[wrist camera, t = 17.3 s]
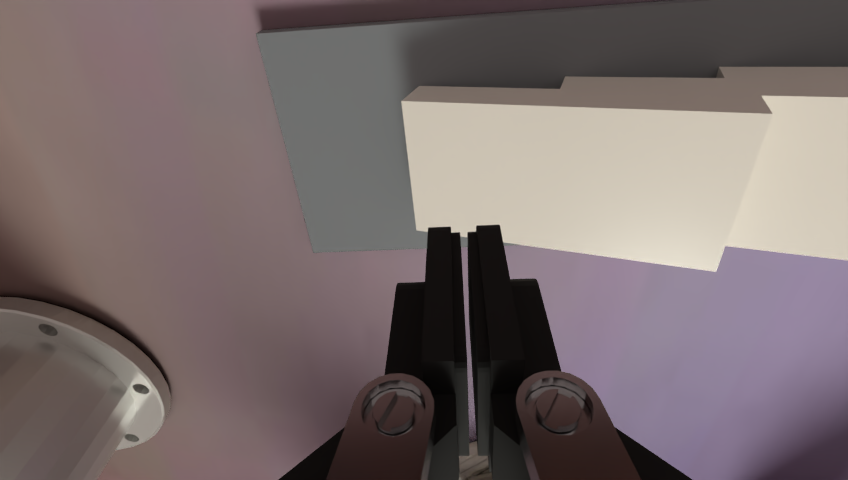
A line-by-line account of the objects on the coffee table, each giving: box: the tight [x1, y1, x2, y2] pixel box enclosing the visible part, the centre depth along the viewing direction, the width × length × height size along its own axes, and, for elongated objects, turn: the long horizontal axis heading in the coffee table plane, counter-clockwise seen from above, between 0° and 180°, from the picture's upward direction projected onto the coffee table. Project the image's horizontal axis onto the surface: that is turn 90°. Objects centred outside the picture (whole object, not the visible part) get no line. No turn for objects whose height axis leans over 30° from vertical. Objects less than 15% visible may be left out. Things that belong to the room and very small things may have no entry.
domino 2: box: [560, 76, 848, 260], centre depth 14 cm, size 2×5×10 cm
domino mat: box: [256, 0, 848, 253], centre depth 17 cm, size 28×9×1 cm, turn 94°
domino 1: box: [401, 86, 773, 272], centre depth 15 cm, size 2×5×10 cm
